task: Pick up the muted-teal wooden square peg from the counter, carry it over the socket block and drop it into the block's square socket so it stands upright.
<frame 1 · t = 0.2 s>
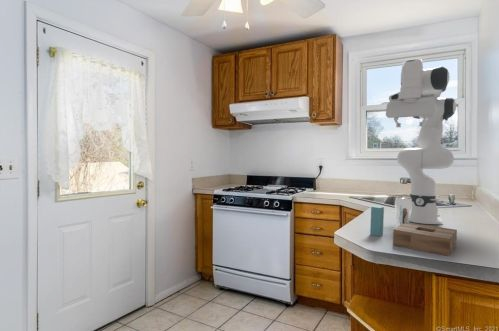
hand: (409, 126, 136), 47 cm above the countertop, fingers open, 8 cm apart
peg: (376, 234, 131), on the countertop
beer glass: (402, 230, 140), on the countertop
socket block: (424, 245, 116), on the countertop
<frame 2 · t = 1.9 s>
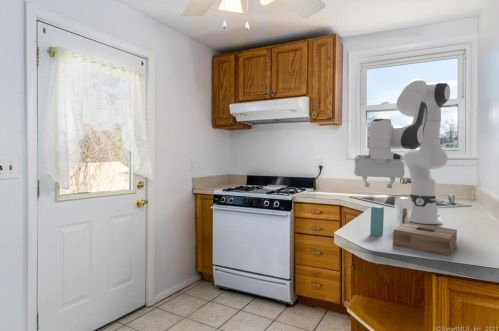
hand: (378, 187, 130), 20 cm above the countertop, fingers open, 8 cm apart
nothing on the countertop moved.
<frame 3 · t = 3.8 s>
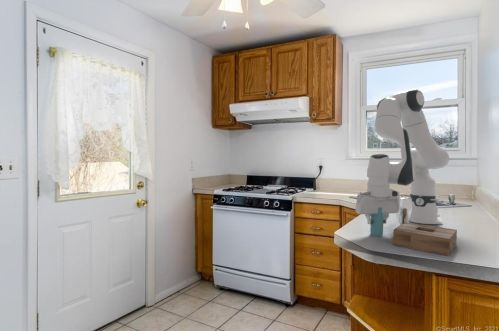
hand: (376, 223, 131), 5 cm above the countertop, fingers closed on peg, 5 cm apart
peg: (376, 234, 131), on the countertop, touching gripper
everything else where it was.
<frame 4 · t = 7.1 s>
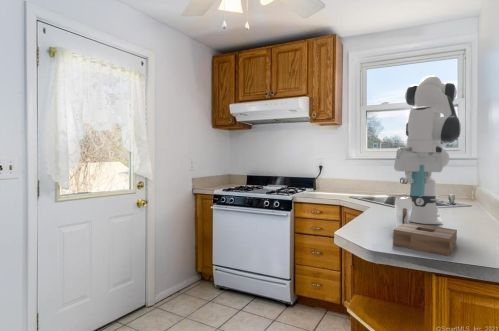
hand: (417, 183, 118), 23 cm above the countertop, fingers closed on peg, 5 cm apart
peg: (417, 195, 118), point 19 cm above the countertop, touching gripper
everything else where it was.
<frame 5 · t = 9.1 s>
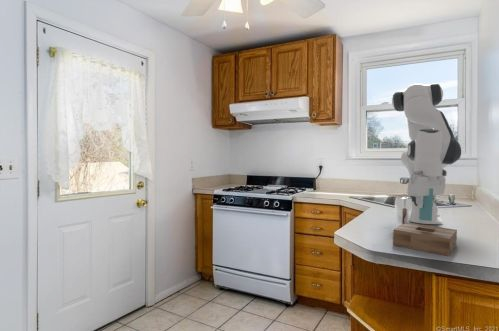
hand: (425, 207, 116), 15 cm above the countertop, fingers closed on peg, 5 cm apart
peg: (425, 219, 116), point 10 cm above the countertop, touching gripper
everything else where it was.
when the fingers open (8 cm above the countertop, at t = 10.8 s): peg drops 3 cm, resting in socket block.
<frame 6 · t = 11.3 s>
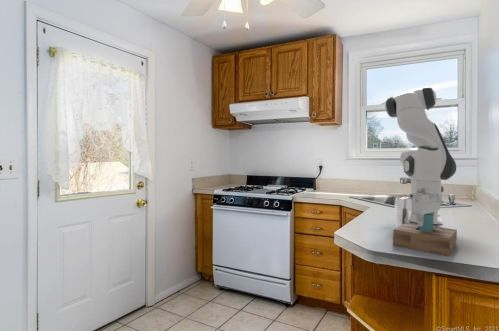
hand: (425, 224, 116), 8 cm above the countertop, fingers open, 8 cm apart
peg: (424, 245, 116), resting in socket block
everything else where it was.
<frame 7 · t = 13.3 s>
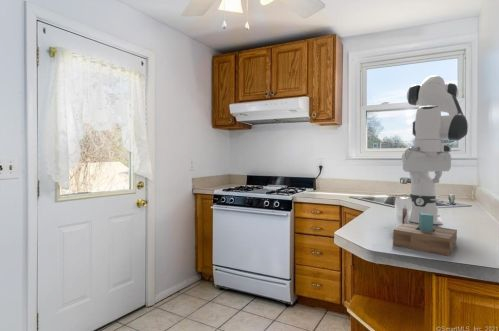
hand: (426, 183, 117), 24 cm above the countertop, fingers open, 8 cm apart
nothing on the countertop moved.
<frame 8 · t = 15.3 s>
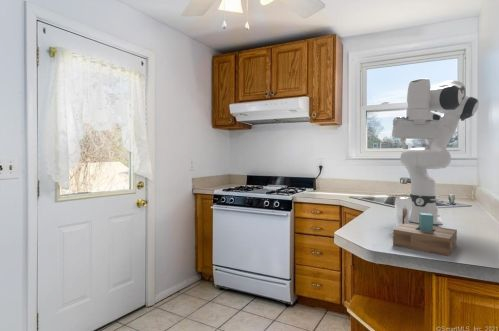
hand: (416, 149, 130), 37 cm above the countertop, fingers open, 8 cm apart
nothing on the countertop moved.
at the end: peg 0.1 cm off-centre on the socket block, point 0.0 cm above the socket block's base; peg tilted 0°; the gripper is holding nothing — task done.
